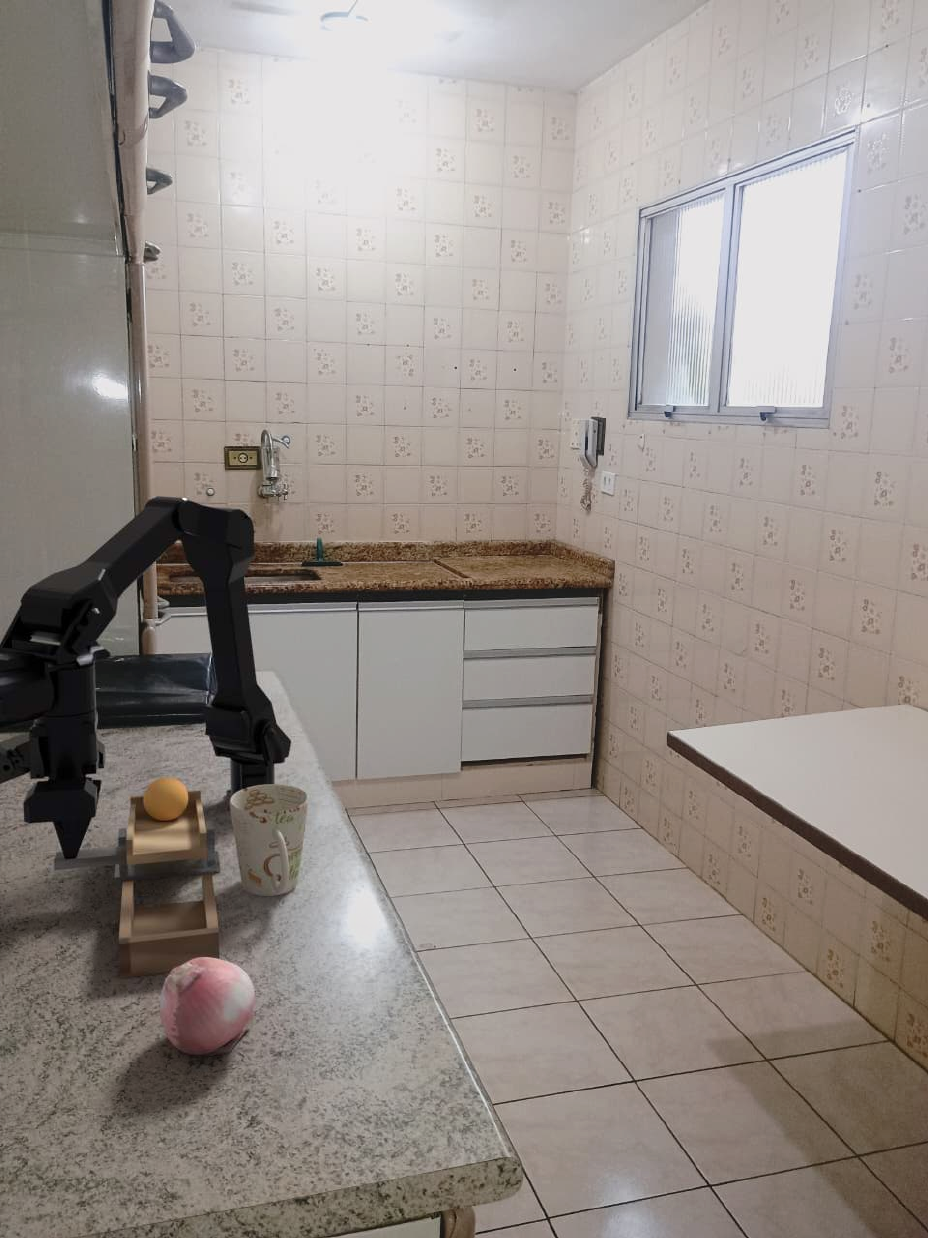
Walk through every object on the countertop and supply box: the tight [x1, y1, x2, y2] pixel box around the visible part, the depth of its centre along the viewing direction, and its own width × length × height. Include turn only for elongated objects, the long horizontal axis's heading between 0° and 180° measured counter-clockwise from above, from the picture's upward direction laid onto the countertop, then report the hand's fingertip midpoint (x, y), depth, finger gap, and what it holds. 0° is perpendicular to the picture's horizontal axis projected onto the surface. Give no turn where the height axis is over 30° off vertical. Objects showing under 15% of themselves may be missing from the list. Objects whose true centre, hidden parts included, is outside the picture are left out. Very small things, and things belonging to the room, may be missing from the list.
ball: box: [143, 777, 188, 821], centre depth 115 cm, size 5×5×5 cm
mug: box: [229, 783, 309, 897], centre depth 106 cm, size 8×13×10 cm, turn 25°
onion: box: [158, 957, 256, 1058], centre depth 81 cm, size 8×8×7 cm
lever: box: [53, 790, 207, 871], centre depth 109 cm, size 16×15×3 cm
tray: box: [118, 873, 220, 979], centre depth 97 cm, size 13×9×3 cm
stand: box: [113, 820, 221, 884], centre depth 111 cm, size 4×11×5 cm, turn 107°
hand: (70, 857), depth 101 cm, fingers closed, pressing on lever
